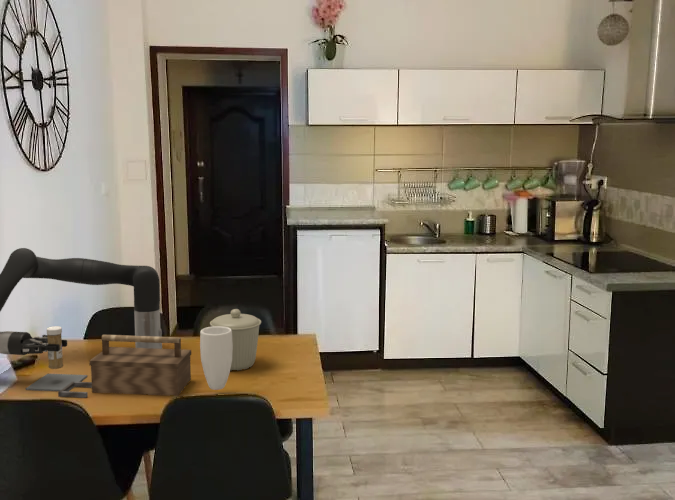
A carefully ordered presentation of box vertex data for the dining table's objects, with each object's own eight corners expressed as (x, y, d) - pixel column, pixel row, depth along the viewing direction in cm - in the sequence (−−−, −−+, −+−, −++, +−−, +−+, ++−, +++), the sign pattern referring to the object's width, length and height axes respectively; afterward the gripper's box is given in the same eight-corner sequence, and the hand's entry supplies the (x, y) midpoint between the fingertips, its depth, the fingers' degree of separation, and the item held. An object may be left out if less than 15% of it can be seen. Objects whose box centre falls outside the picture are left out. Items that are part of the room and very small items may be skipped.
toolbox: (58, 396, 208) (55, 344, 205) (85, 375, 227) (83, 327, 224) (174, 401, 205) (172, 348, 203) (191, 380, 224) (190, 331, 221)
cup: (205, 404, 203) (204, 336, 200) (196, 393, 213) (195, 327, 209) (238, 398, 208) (237, 332, 205) (227, 388, 217) (226, 324, 214)
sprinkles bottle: (64, 368, 218) (63, 328, 216) (49, 370, 215) (47, 330, 213) (61, 364, 222) (60, 325, 219) (46, 366, 219) (45, 326, 217)
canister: (271, 366, 239) (271, 309, 236) (231, 378, 226) (231, 318, 223) (240, 355, 251) (239, 300, 248) (200, 366, 238) (199, 309, 235)
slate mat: (25, 390, 213) (25, 388, 213) (47, 375, 227) (47, 373, 227) (68, 391, 212) (67, 390, 212) (87, 376, 226) (87, 375, 226)
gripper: (-1, 338, 211) (51, 340, 209) (24, 326, 225) (73, 328, 223) (1, 360, 212) (52, 363, 211) (25, 347, 226) (73, 350, 225)
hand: (62, 345), depth 217 cm, fingers closed on sprinkles bottle, 4 cm apart
